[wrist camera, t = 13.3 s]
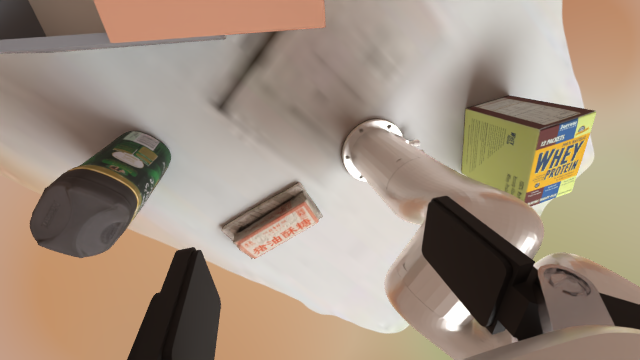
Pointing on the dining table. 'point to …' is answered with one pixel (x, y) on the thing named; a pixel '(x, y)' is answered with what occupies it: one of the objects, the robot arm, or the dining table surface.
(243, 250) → the packaged product
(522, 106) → the protein box
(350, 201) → the dining table surface
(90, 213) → the coffee jar
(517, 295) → the robot arm
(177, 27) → the lid
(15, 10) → the carton
